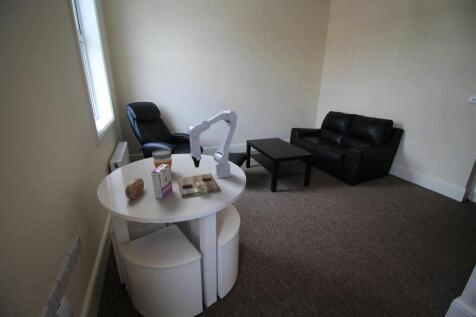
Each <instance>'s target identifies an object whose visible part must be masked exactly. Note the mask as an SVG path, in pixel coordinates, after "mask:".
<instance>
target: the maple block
mask: <svg viewBox="0 0 476 317" xmlns="http://www.w3.org/2000/svg"><path fill="white" fill-rule="evenodd" d="M196 189H197V191H204V190H205V189H204V183H203V181H201V182H196Z"/></svg>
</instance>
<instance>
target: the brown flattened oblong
mask: <svg viewBox="0 0 476 317" xmlns="http://www.w3.org/2000/svg"><path fill="white" fill-rule="evenodd" d="M144 188H145V183H144V180H143V178H135V179H133V180H132V181H131V182H130V183H129V184H128V185H127V186H126V187H125V190H124V191H125V196H126V198H127V200H134V199H136V198H137V197H138V196H139V195H140V194H142V192H143V191H144Z"/></svg>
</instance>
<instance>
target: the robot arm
mask: <svg viewBox="0 0 476 317" xmlns="http://www.w3.org/2000/svg"><path fill="white" fill-rule="evenodd" d="M237 119H238V114H237V113H236V111H234V110H228V109H223V110H221V111H219V112H218V113H217V114H215V115H213V117H210V118H209V119H201V121H200V122H198V123H195V124H194V125H191V126H189V128H188V129H187V134H188V135H189V144H190V146H189V147H190V153H189V154H188V156H190V158H191V159H192V161H193V164H194V168H195V169H196V168H200V164H201V159H202V156H201V155H202V152H201V140H200V138H201V137H200V136H201V134H202V133H204V132H205V131H208V130H209V129H210V128H211V126H212V125H214V124H216V123H218V122H220V121H224V122H225V123H226V125H227V127H226V130H225V133H224V134H223V135H224V136H223V138H222V141H221V144H220V147H219V148H218V149H217V150H216V152H215V153H214V155H213V160H214V161H215V173H214V176H215V177H216V179H223V178H231V177H232V175H231V164H230V162H229V156H230V154H229V150H230V146H231V143H232V140H233V137H234V134H235V131H236V129H237V127H238V126H237V125H238V124H237V122H238V121H237Z"/></svg>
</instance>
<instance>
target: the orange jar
mask: <svg viewBox="0 0 476 317" xmlns="http://www.w3.org/2000/svg"><path fill="white" fill-rule="evenodd" d="M152 159H153V164H154V167H155V169H156V168H157V167H159V166H160V165H161V164H167V165H169V168H170V174H171V172H172V166H173V162H172V161H173V159H172V151H171V150H170V149H158V150H155V151H152Z"/></svg>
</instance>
